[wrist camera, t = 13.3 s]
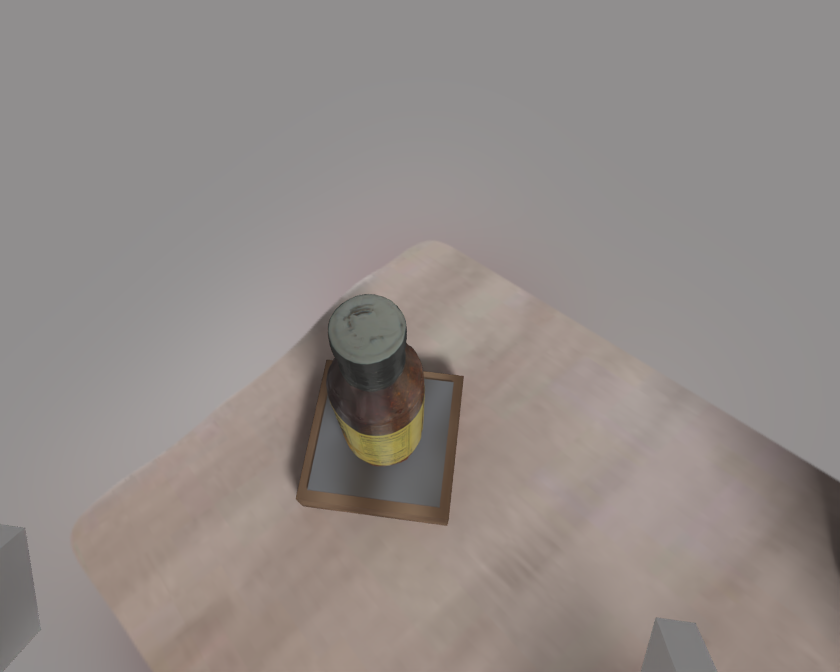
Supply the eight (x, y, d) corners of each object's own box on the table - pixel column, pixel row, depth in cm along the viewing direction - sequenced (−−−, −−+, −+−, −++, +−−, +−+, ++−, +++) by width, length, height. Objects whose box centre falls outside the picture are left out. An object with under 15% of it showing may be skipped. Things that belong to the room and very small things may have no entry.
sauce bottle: (358, 389, 49) (329, 253, 31) (430, 406, 48) (442, 277, 31) (335, 464, 46) (287, 361, 28) (411, 483, 45) (412, 390, 28)
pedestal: (461, 388, 53) (463, 374, 50) (447, 525, 47) (448, 519, 44) (331, 373, 53) (326, 358, 50) (302, 506, 48) (294, 498, 45)
